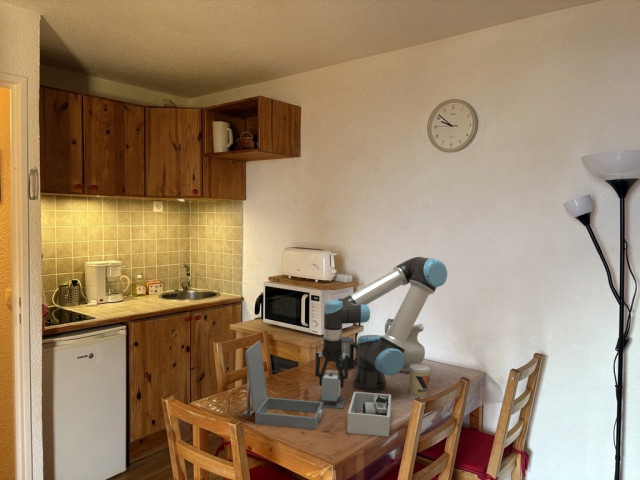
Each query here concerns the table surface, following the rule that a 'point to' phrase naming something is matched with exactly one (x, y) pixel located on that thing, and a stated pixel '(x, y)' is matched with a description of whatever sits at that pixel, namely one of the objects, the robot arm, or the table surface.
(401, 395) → the table surface
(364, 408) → the camera
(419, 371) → the coffee cup
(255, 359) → the lid
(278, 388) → the table surface
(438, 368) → the table surface
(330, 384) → the block
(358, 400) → the crate
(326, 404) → the mat
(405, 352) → the ceramic pitcher
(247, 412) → the stay rod
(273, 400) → the case
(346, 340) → the milk frother
